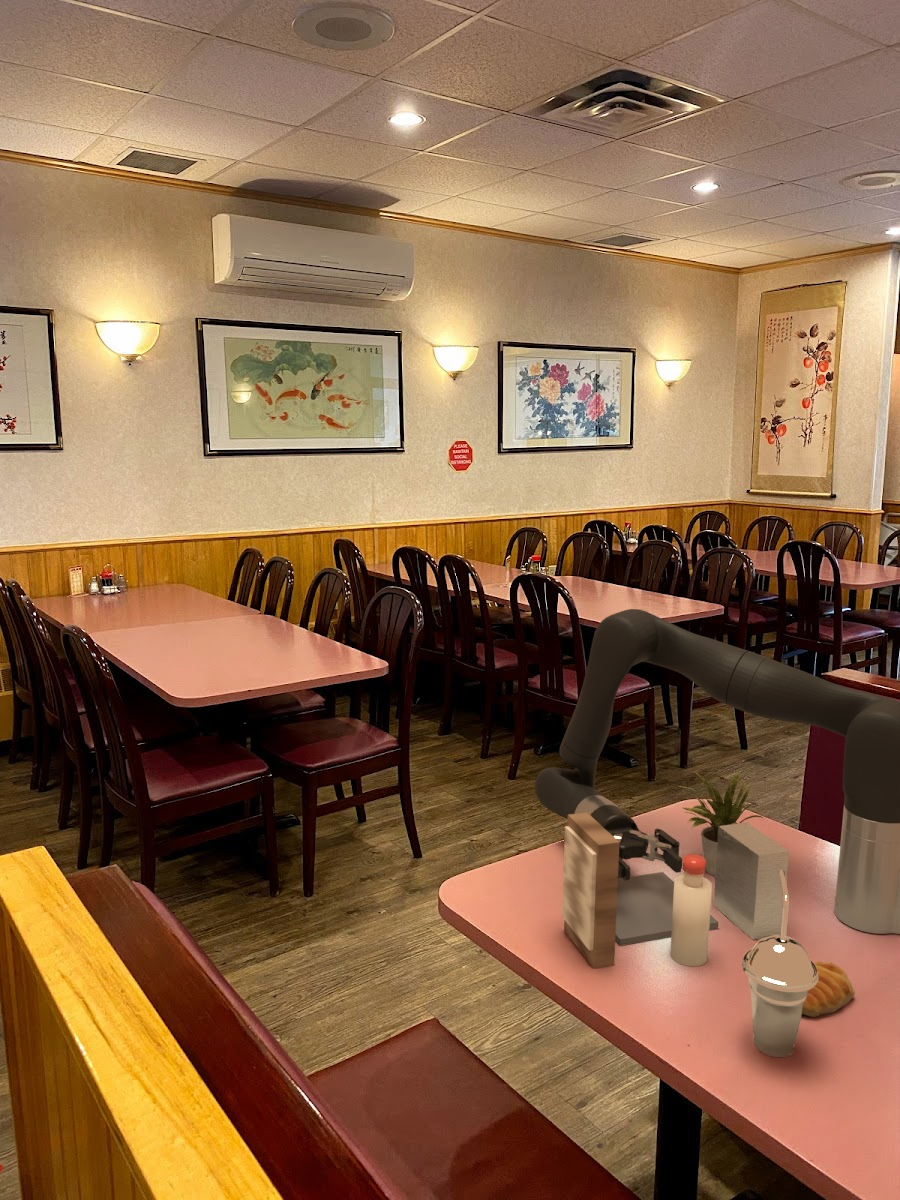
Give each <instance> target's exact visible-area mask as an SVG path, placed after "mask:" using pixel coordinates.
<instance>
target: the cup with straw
mask: <svg viewBox="0 0 900 1200" xmlns="http://www.w3.org/2000/svg"><path fill="white" fill-rule="evenodd" d="M779 877H780V883H781V889H782V895H783V906H782V918H781V931H780V934H771V935H767V936H764V937H762V938H759V939H757V940H756V942H755V943H754V944H753V946H752V947H751V948H749V949H748V950H747V951H745V953H744V954H743V957H742V960H741V968H742V970H743V972H744V974H745V975H746V976H747V979H748V985H749V989H750V997H751V998H750V1000H751V1001H750V1002H751V1016H752V1017H751V1018H752V1019H751V1020H752V1034H753V1044H754V1046H755V1048H756V1049H758V1050H759V1051H760V1052H762V1053H763V1054H764V1055H767V1056H769V1057H773V1058H786V1057H790V1056H791V1055H792V1054H793V1052H794V1049H795V1045H796V1041H797V1036H798V1033H799V1028H800V1023H801V1018H802V1016H803V1014H802V1011H803V1006H804V1002H805V1000H806V998H807V995H808V993H809V990H810V989H812V988H813V987H814V986H815V985H816V984H817V982H818V974H817V968H816V966H815V965H814V963H815V962H813V961H812V960H811V959H810V956H809V954H808V951H807V950H806V949H805V947H804V946H803V945H802V944H801V943H800V942H799V941H797V940H796V939H795V938H792V936H788V935H787V933H788V918H789V909H790V894H789V888H788V883H787V881H786V877H785V871H783V870H780V871H779Z"/></svg>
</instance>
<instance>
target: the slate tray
mask: <svg viewBox="0 0 900 1200" xmlns="http://www.w3.org/2000/svg"><path fill="white" fill-rule="evenodd" d="M673 896H674V880H673V879H671V878H670V876H668V875H667V874H666V873H665V872H664V871H658V872H653V873H648V874H647V873H646V874H641V875H632V876H630V879H629V880H623V879H622V878H620V877H619V878H618V888H617V912H616V936H615V943H617V945H619V946H626V945H627V946H628V945H631V944H638V943H644V942H649V941H654V940H660V939H665V938H671V932H672V914H673ZM718 929H719V921H718V920H717V919H716V918H715V917H714V916H712V915H711V914H710V925H709V931H712V930H718Z"/></svg>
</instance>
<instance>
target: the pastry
mask: <svg viewBox="0 0 900 1200" xmlns="http://www.w3.org/2000/svg"><path fill="white" fill-rule="evenodd" d="M813 963H814V965H815V966H816V968H817V974H818V982H817V984H816V985H815V986H814V987H813V988H812V989H810V990H809V993H808V995H807V998H806V1000H805V1002H804V1006H803V1011H802V1015H805V1016H808V1017H817V1016H820V1015H825V1014H834V1013H836V1011H838V1010H839V1009H840V1008H843V1007H844V1006H846V1005H847V1004H848V1003H849V1002H850V1000H852V999H853V997H854V996H855V994H856V991H855V989H854V987H853V986H852V982H851V981H850V979H849V977H848V974H847V973H846V971H845V970H844V969H843V968H841V967H840V966H839V965H836V964H835V963H832V962H829V961H827V962H824V961H822V960H818V961H816V962H813Z"/></svg>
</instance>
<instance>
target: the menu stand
mask: <svg viewBox="0 0 900 1200" xmlns="http://www.w3.org/2000/svg"><path fill="white" fill-rule="evenodd" d="M566 822H567V823H566V824H567V825H566V826H564V848H563V851H564V852H563V875H562V876H563V878H562V879H563V882H562V909H561V910H562V913H561V914H562V915H561V917H562V919H563V921H564V922H563V924H564V925H563V931H564V932H565V933H566V935H567V936H568V937H569V938H570V940H571V941H572V942H573V943H574V945H575V946H576V947H577V949H578V950H579V951H580V953H581V954H582V955H583V956H584V957H585V959H586V960H587V961H588V962H589V964H590V965H591V966H592V968H593V969H599V968H604V967H611V966H615V959H616V958H615V957H616V956H615V955H616V941H615V936H616V912H617V888H618V879H619V877H618V865H619V841H618V840H616V839H615V838H614V837H613V836H612V835H611V834H610V833H609V832H608V831H607V830H606V829H605V828H603V827H602V826H601V825H600V824H599V823H598V822H597V821H596V820H595V819H594V818H593V817H592V816H590V815H589V814H588V813H587V812H585V813H577V814H569V815H568V819H567V821H566Z"/></svg>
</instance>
